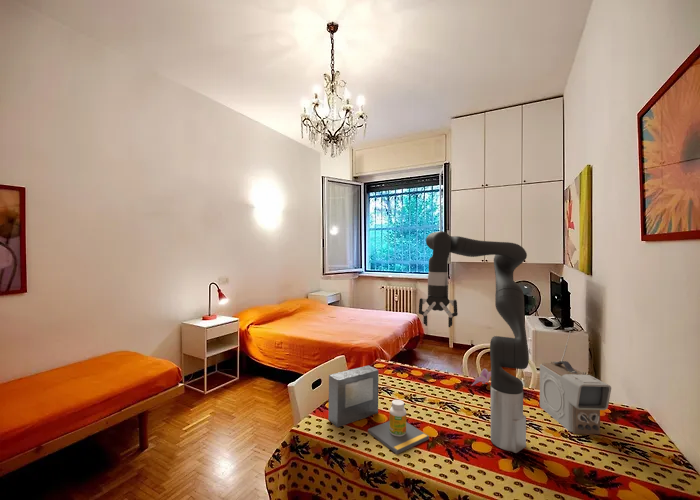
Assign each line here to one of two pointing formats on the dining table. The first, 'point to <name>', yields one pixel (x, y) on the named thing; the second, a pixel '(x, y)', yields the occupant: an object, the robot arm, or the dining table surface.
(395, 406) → the supplement bottle
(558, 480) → the dining table surface
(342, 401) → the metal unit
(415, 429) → the mat
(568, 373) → the portable television
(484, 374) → the lily
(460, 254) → the robot arm
